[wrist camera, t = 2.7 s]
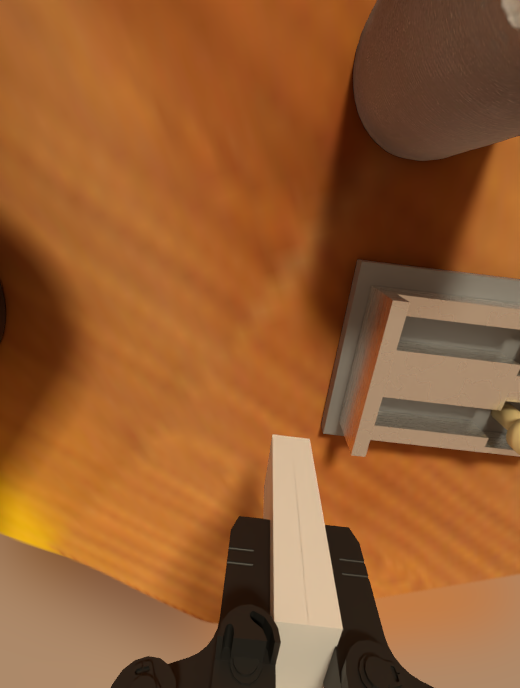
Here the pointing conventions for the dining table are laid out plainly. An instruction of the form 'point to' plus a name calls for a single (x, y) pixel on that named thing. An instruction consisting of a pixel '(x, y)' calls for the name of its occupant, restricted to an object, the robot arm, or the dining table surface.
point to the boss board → (429, 340)
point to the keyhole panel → (427, 374)
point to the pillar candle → (439, 75)
